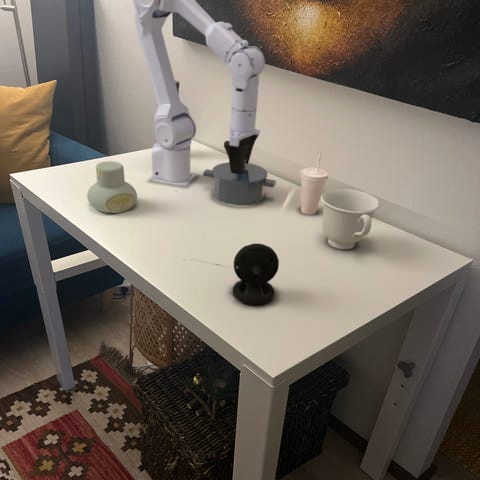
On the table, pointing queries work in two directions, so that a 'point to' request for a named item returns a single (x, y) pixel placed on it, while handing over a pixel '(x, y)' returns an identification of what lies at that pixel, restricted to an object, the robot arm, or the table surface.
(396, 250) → the table surface
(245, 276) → the webcam
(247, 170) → the pot lid
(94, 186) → the air freshener
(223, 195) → the pot
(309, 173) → the smoothie
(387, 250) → the table surface
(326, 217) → the teacup
